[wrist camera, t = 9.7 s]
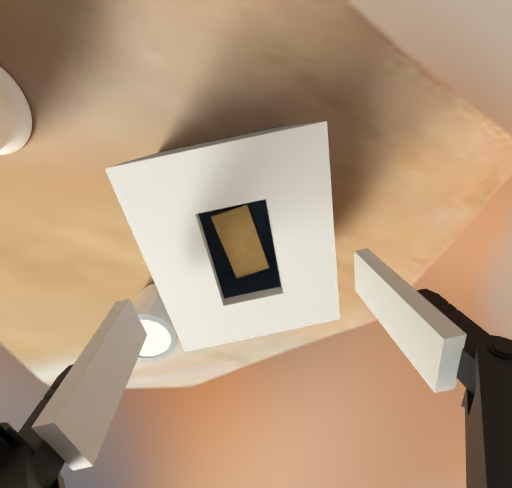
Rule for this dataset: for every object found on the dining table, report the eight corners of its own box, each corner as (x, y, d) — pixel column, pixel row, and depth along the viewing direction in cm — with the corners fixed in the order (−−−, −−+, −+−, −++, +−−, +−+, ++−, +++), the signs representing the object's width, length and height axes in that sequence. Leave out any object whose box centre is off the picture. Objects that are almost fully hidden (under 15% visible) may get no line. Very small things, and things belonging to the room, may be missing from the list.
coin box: (157, 152, 26) (104, 168, 15) (287, 125, 26) (327, 121, 15) (200, 279, 33) (184, 352, 22) (304, 257, 33) (339, 319, 22)
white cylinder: (179, 275, 33) (167, 309, 26) (192, 316, 35) (183, 356, 29) (126, 283, 32) (101, 320, 26) (143, 324, 35) (124, 366, 29)
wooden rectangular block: (216, 191, 28) (210, 216, 20) (242, 182, 28) (247, 204, 19) (235, 238, 30) (236, 278, 22) (258, 230, 30) (269, 267, 22)
